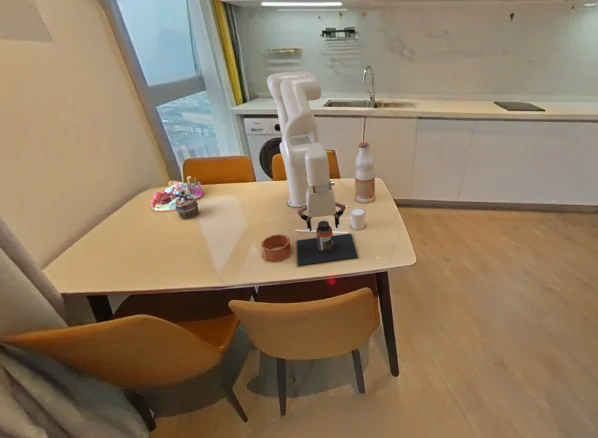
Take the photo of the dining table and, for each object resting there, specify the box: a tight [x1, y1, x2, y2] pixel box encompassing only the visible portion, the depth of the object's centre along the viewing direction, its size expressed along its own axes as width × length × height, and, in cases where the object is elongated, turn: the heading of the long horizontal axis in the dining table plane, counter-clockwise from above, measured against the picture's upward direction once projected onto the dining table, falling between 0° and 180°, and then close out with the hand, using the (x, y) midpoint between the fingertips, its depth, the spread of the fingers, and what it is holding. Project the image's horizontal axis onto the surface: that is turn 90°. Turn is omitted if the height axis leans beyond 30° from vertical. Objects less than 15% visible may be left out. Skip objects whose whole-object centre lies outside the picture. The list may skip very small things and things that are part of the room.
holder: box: [260, 233, 292, 262], centre depth 120 cm, size 10×10×5 cm
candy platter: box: [150, 175, 205, 212], centre depth 162 cm, size 25×24×9 cm
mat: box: [296, 233, 359, 267], centre depth 122 cm, size 16×22×1 cm
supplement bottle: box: [315, 220, 334, 252], centre depth 119 cm, size 6×6×11 cm
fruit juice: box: [354, 141, 376, 204], centre depth 150 cm, size 9×9×28 cm
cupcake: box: [175, 193, 200, 220], centre depth 147 cm, size 10×10×10 cm
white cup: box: [349, 207, 366, 230], centre depth 134 cm, size 7×7×7 cm
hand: (323, 227), depth 117 cm, fingers open, 9 cm apart
